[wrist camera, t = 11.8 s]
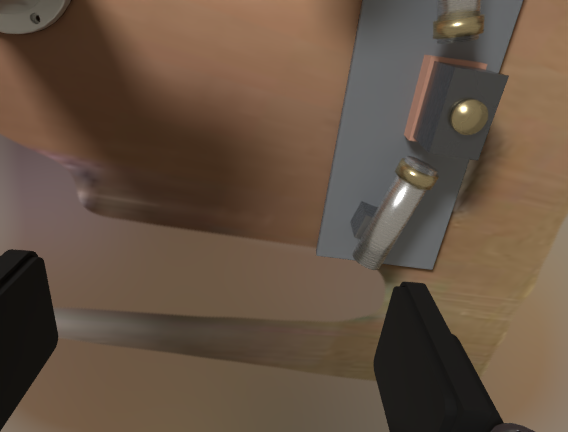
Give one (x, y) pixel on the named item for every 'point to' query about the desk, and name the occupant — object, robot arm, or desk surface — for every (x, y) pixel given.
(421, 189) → the shaft
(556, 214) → the desk surface
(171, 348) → the desk surface
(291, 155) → the desk surface
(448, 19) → the shaft
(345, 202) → the base plate
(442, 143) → the block
